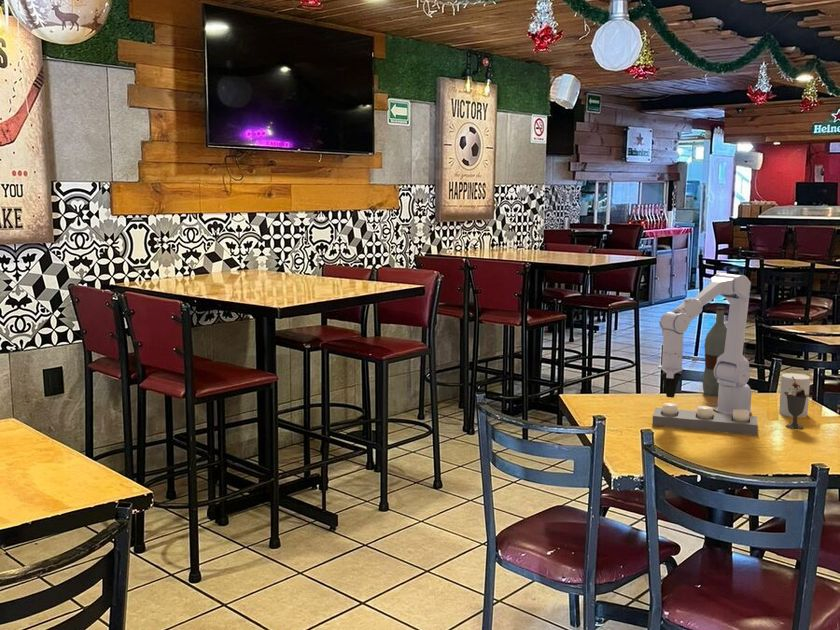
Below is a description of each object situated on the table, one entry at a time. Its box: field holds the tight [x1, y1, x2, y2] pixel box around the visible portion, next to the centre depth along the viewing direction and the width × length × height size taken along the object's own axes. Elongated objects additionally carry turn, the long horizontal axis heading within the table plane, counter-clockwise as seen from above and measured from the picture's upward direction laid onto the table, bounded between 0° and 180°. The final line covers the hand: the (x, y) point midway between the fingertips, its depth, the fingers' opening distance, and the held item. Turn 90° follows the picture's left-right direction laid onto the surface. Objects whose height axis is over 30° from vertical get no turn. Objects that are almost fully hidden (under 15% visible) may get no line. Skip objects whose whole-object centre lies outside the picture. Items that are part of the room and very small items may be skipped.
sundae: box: [784, 377, 810, 430], centre depth 245 cm, size 7×7×15 cm
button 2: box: [733, 409, 750, 422], centre depth 243 cm, size 4×4×3 cm
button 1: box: [661, 402, 679, 416], centre depth 250 cm, size 4×4×3 cm
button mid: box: [696, 405, 714, 419], centre depth 247 cm, size 4×4×3 cm
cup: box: [778, 372, 811, 418], centre depth 260 cm, size 8×8×12 cm
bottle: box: [702, 306, 730, 397], centre depth 284 cm, size 9×9×30 cm
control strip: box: [652, 407, 759, 436], centre depth 247 cm, size 10×29×3 cm, turn 70°
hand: (670, 396), depth 250 cm, fingers closed
